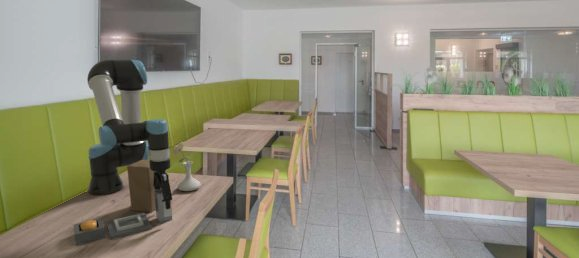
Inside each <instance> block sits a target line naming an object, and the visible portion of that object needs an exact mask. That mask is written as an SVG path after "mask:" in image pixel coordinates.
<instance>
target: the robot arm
mask: <svg viewBox="0 0 579 258" xmlns="http://www.w3.org/2000/svg"><path fill="white" fill-rule="evenodd" d="M147 84H148V75H147V70H146V67H145V65H144V63H143V62H142V61H141V60H137V59H104V60H100V61H99V62H96V63H95V64H93V66H92V67H91V68H90V70H89V71H88V74H87V85H88V87H89V89H90V91H92V93H93V97H94V100H95V104H96V108H97V111H98V114H99V118H100V121H101V126H99V127H98V136H99V137H98V138H99V142H100V143H97V144H95V145H92V146H91V147H90V148H89V149H88V159H89V166H90V167H89V170H90V175H91V176H90V181H89V185H88V193H89V194H90V195H93V196H95V195H96V196H101V195H109V194H114V193H117V192H119V191H121V190H122V189H124V183H123V180H122V179H121V177H120V175H119V171H118V168H123V167H127V166H129V165H131V164H133V163H136V162H138V161H140V160H150V161H149V162H150V169H151V170H152V171H154V181H153V186H155V187H154V188H155V189H156V190H158V189H160V188H161V190H162V195H163V199H164V200H162V202H163V207H164V217H168V216H172V217H173V209H172V210H171V208H172V201H173V196H172V190H171V185H170V180H169V176H170V175H169V174H168V173H167V172H166V170H169V169H170V168H171V152H170V143H169V127H168V122H167V120H166V119H164V118H162V119H161V118H155V119H149V120H144V121H142V112H141V111H142V110H141V109H142V108H141V92H142V91H143V90H144V86H146V85H147ZM113 86H116V90H118V91H119V93H120V107H121V108H120V107H119V104H118V101H117V97H116V95H115V92H114V89H113ZM167 197H168V198H167Z"/></svg>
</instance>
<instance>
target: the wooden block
mask: <svg viewBox="0 0 579 258" xmlns="http://www.w3.org/2000/svg"><path fill="white" fill-rule="evenodd" d="M149 161H150V159H148V160H140V161H138V162H136V163H133V164H131V165H129V166H126V168H127V178H128V179H127V180H128V189H129V197H130V209H131V211H136V212H143V213H146V212H147V213H153V212H154V211H156V206H155V194H154V190H156V189H155V188H154V187H155V186H153V181H154V171H152V170H151V169H150V162H149ZM160 189H161V188H160Z"/></svg>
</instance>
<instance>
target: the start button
mask: <svg viewBox="0 0 579 258" xmlns="http://www.w3.org/2000/svg"><path fill="white" fill-rule="evenodd" d="M82 222H83V223H82ZM82 222H80V223H81V225H80V226H81V231H84V230H88V229H92V228H97V222H96V221H95V219H90V220H86V221H82Z"/></svg>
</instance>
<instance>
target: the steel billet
mask: <svg viewBox="0 0 579 258" xmlns="http://www.w3.org/2000/svg"><path fill="white" fill-rule="evenodd" d="M154 194H155V206H156V210H155V215H156V220H157V221H158V222H159V223H160V224H161V223H164V222H168V221H172V220H173V215H172V216H168V217H164V207H163V202H162V200H164V199H163V195H162V190H161V189H158V190H154ZM167 198H168V197H167ZM171 210H172V211H173V209H172V207H171Z"/></svg>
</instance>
